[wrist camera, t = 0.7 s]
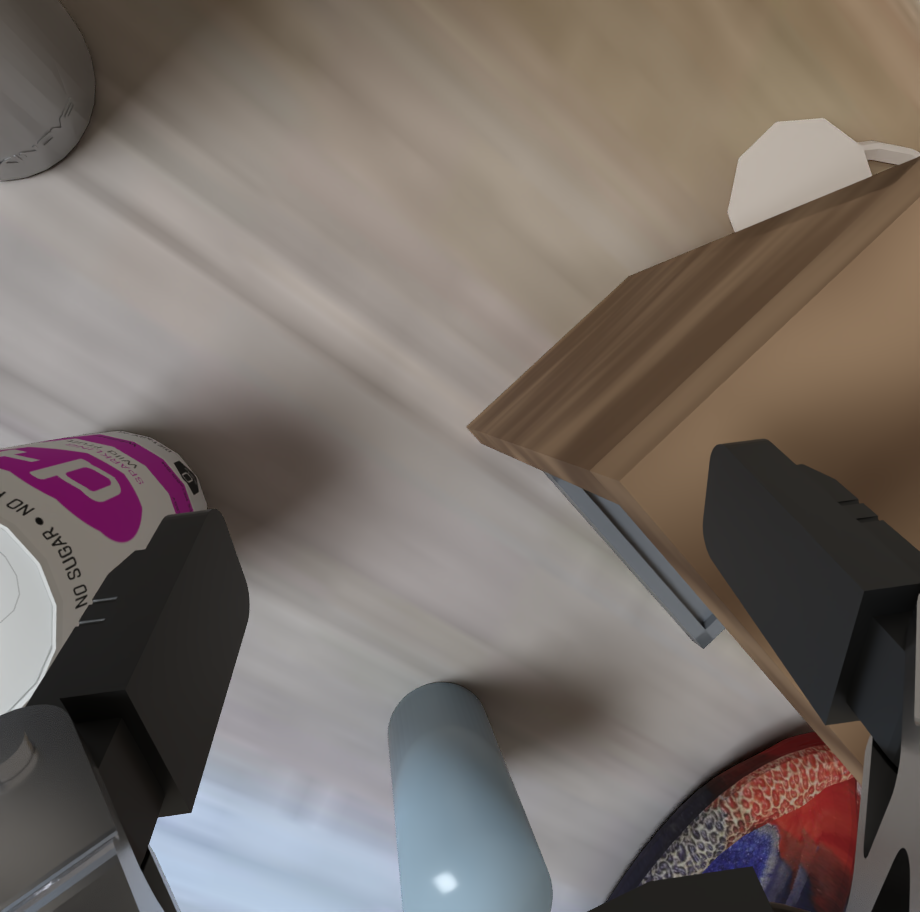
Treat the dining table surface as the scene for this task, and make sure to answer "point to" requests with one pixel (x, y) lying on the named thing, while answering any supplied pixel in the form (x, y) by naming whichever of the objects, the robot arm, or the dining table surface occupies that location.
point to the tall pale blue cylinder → (459, 810)
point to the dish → (767, 827)
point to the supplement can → (73, 536)
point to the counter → (744, 385)
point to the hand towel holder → (801, 168)
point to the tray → (644, 562)
